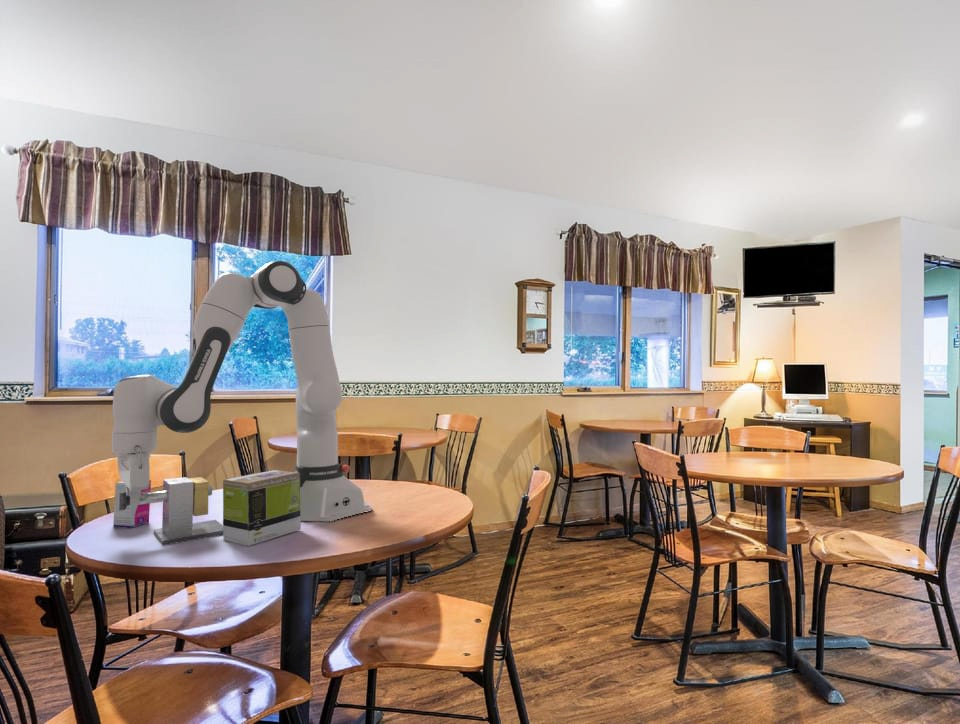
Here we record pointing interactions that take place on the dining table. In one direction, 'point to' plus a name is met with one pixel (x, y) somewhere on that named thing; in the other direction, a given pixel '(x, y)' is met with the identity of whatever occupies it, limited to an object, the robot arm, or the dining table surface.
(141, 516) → the supplement box
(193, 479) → the block
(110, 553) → the dining table surface
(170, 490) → the stand
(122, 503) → the shaft
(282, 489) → the tea box
